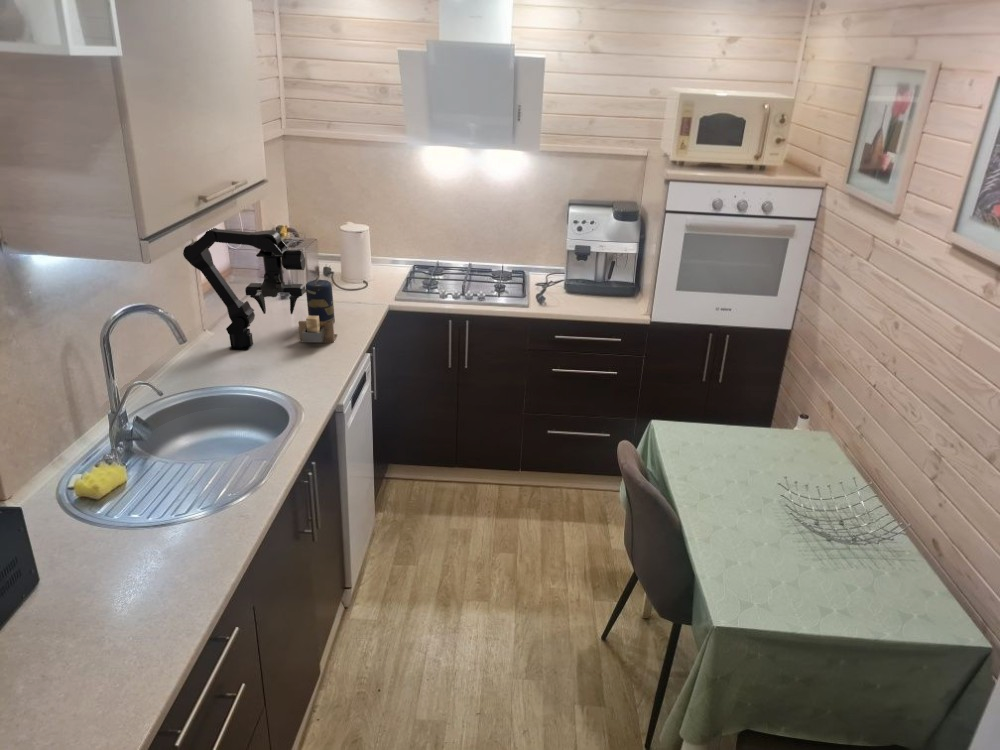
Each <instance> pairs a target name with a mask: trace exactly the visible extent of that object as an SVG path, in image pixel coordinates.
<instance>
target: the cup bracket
mask: <svg viewBox="0 0 1000 750" xmlns="http://www.w3.org/2000/svg"><path fill="white" fill-rule="evenodd" d="M319 322H320V332H307V324H306V320H299V321H298V331H299V341H303V342H302V343H335V342H336V340H337V338H338V334H337V333H335V325H334V324H333V321H319ZM334 341H335V342H334Z"/></svg>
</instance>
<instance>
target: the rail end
mask: <svg viewBox="0 0 1000 750" xmlns="http://www.w3.org/2000/svg"><path fill="white" fill-rule="evenodd" d="M305 321H306V324H307V332H320V322H319V316H307V317H306V319H305Z"/></svg>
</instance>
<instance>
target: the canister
mask: <svg viewBox="0 0 1000 750" xmlns="http://www.w3.org/2000/svg"><path fill="white" fill-rule="evenodd" d="M305 291H306V292H305V293H306V294H305V295H306V302H307V315H308V316H319V321H333V325H334V324H335V323H336V319H335V317H336V316H335V306H334V305H335V304H334V295H333V284H332V283H331V281H329V280H325V279H321V278H320V279H314V280H309V281H307V282H306V283H305ZM308 316H307V317H308Z"/></svg>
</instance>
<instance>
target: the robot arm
mask: <svg viewBox="0 0 1000 750" xmlns="http://www.w3.org/2000/svg"><path fill="white" fill-rule="evenodd" d="M212 228H213V229H212ZM212 228H210V229H211V230H210V229H208V230H209V231H208V230H206V232H205V233H204V234H203V235H202V236H201V237H200V238H199V239H198V240H195V241H192V242H191V243H190V244H188V245H186V246H185V247H184V248H183V252H182V254H183V258H184V259H185V260H186V261H187V262H188V263H189V264H190V265H191V266H192V267H194V268H195V269H196V270H198V271H200V273H202V275H203V276H204V278H205V279H206V280H207V282H208V283H209V284H210V286H211V288H212V289H213V290H214V291H215V293H216V295H218V298H220V300H221V301H222V302H223V304H224V305H225V307H226V309H227V313H228V317H229V319H230V321H231V322H230V324H229V325H228V326H227V327H226V329H225V330H226V332H227V334H228V335H229V341H230V342H229V343H230V347H229V348H228V349H229V350H230V351H231V350H233V351H234V350H235V351H249V349H250V348H251V347H253V345H254V340H253V333H251V329H250V328H249V327H250V326H251V324H252V323H253V322H254V320H255V316H256V314H255V312H254V311H255V309H254V308H252V306H251V304H250V302H249V301H248V300H246V301H245V302H243V301H242V300H240V299H239V298H238V297H237V294H235V292H234V291H233V290H232V288H231V286H230V285H229V283H228V282H227V281H226V279H225V278H224V277H223V276H222V274H221V273H220V271H219V270H218V268H217V267H216V265H215V264H214V261H213V257H212V253H211V251H210V248H211V247H212V246H213V245H214V244H215V243H221V244H232V245H233V244H234V245H243V246H250V247H254V249H255V248H256V249H257V250H259V252H257V254H255V256H256V257H259V258H262V260H263V261H262V262H263V268H264V269H263V270H264V274H263V281H262V283H261V282H260V283H259V282H250V283H249V284H248V285H247V286H246V287H245V291H244V293H245V295H246V296H249V298H252V299H254V300H255V301H256V302H257V303H258V306H259V307H260V309H261V311H262V314H264V315H265V314H267V313H266V311H267V309H266V300H265V298H269V297H271V298H276V297H278V295H279V294H281V293H288V294H289V295H290V296H289V297H288V298H289V306H290V307H289V311H290V315H293V313H294V310H295V307H296V303H297V301H298V299H299V298H300V297H302V296H304V294H305V293H306V285H304V283H292V284H291V286H285V284H286V283H285V279H284V270H283V269H285V270H286V271H305V269H306V257H305V254H304V252H303V249H301V248H300V249H299V248H298V249H289V246H287V244H286V243H285V242H284V241H283V240H282V237H281V235H280V233H278V231H276V230H272V229H269V230H268V229H267V230H259V231H251V232H250V231H242V230H241V231H240V230H232V229H221V228H217V227H212Z"/></svg>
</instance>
